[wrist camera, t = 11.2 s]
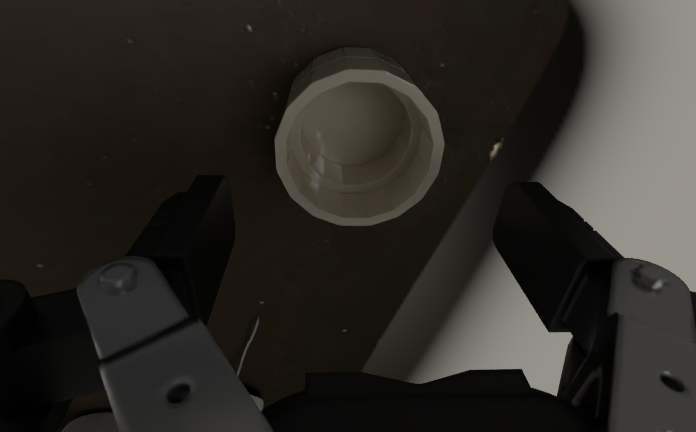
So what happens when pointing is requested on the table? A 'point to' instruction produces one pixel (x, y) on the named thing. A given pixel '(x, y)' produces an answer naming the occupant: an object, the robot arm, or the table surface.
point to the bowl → (357, 139)
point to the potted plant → (93, 423)
